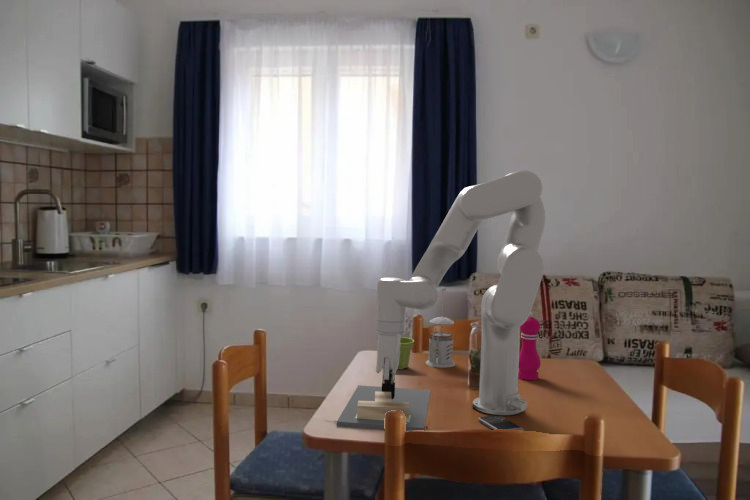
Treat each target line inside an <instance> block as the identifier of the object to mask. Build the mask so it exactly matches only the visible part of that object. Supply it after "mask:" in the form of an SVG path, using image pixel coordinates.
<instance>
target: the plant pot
mask: <svg viewBox="0 0 750 500" xmlns="http://www.w3.org/2000/svg"><path fill="white" fill-rule="evenodd" d="M414 343H415V339H414V338H410V337H405V336H404V337H403V336H401V339H400V357H399V365H398V368H397V370H403V369H407V368H409V364H410V363H409V361H410V356H411V352H412V347H413V345H414Z"/></svg>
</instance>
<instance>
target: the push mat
mask: <svg viewBox="0 0 750 500" xmlns="http://www.w3.org/2000/svg"><path fill="white" fill-rule="evenodd" d="M375 391H378V392H382V386H375V385H374V386H373V385H372V386H371V385H361V384H360V385H357V387H356V389H355V390H354V392H353V393H352V395H351V397H350V399H349V400H348V402H347V403H346V406H345V407H344V408H343V410H342V412H341V414H340V415H339V417H338V419H337V420H336V426H337V427H346V428H348V427H349V428H360V429H361V428H362V429H363V428H364V429H375V430H385V429H384V419H357V406H358V401H375ZM430 397H431V390H430V389H419V388H404V387H403V388H402V387H395V397H394V399H391V400H392V402H408V403H409V420H406V423H407V424H406V430H424V431H425V429H426V426H425V425H426V420H427V414H428V409H429V403H430Z"/></svg>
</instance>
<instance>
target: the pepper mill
mask: <svg viewBox="0 0 750 500" xmlns="http://www.w3.org/2000/svg"><path fill="white" fill-rule="evenodd" d="M540 330H541V324H540V321H539V320H538V319H537V318H535V317H534V313H533V312H532V311H531V312H530V315H529V317H528V318H527V320H526V321H525V323H524V324H522V325H521V326H520V339H521V340H522V342H521V343H522V344H521V348H520V350H519V367H518V379H520V380H523V379H525V380H524V381H537V380H538V379H539V372H538V370H539V369H540V368H541V359H540V356H539V352H538V350H537V340H538V339H539V334H538V332H539V331H540ZM536 379H537V380H536Z"/></svg>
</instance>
